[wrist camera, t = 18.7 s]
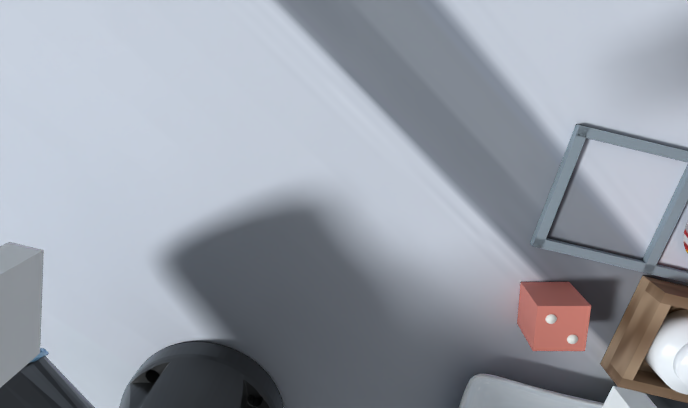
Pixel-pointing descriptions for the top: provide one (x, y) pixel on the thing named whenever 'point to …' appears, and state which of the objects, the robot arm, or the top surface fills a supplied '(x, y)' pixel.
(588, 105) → the top surface
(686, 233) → the soda can
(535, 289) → the die
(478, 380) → the salad plate
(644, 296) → the base
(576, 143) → the track
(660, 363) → the dome
